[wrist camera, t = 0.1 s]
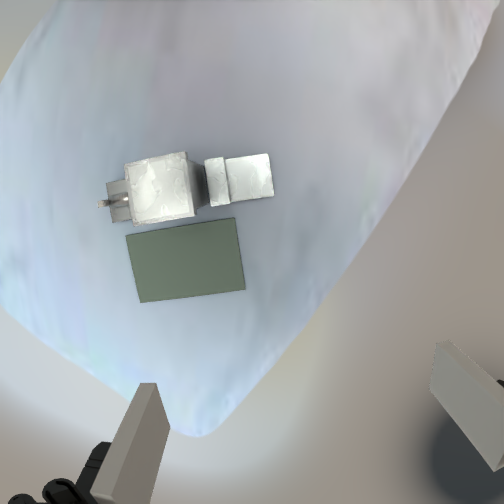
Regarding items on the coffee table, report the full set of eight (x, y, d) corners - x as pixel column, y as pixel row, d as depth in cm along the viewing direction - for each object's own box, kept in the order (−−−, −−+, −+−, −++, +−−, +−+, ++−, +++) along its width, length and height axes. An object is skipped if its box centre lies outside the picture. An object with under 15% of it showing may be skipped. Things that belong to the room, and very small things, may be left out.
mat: (126, 235, 39) (125, 236, 39) (234, 217, 39) (234, 218, 39) (141, 301, 41) (140, 302, 41) (245, 288, 41) (245, 289, 41)
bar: (164, 170, 38) (123, 164, 24) (206, 163, 38) (184, 151, 24) (171, 212, 39) (133, 226, 25) (212, 205, 39) (194, 215, 25)
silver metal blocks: (110, 183, 38) (91, 183, 32) (267, 154, 38) (270, 149, 32) (117, 221, 39) (98, 227, 34) (273, 195, 39) (277, 197, 33)
